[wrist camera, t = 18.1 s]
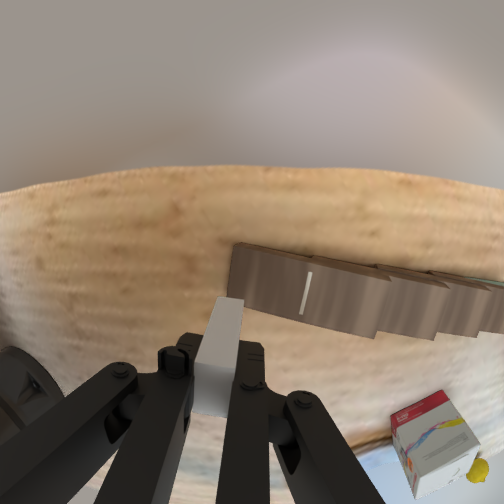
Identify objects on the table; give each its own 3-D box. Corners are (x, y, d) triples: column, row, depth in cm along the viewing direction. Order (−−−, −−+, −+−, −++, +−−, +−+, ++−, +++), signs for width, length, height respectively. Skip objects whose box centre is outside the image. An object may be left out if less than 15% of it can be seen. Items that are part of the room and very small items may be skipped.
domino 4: (420, 321, 25) (509, 335, 21) (434, 274, 24) (523, 293, 20) (416, 314, 27) (502, 328, 23) (429, 270, 26) (516, 289, 22)
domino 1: (225, 301, 25) (373, 339, 21) (233, 245, 24) (392, 282, 20) (233, 295, 27) (372, 329, 23) (241, 242, 25) (388, 276, 22)
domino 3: (364, 319, 25) (476, 338, 21) (378, 268, 24) (492, 292, 20) (364, 311, 27) (470, 330, 23) (376, 263, 26) (485, 286, 22)
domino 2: (299, 314, 25) (433, 340, 21) (310, 259, 24) (451, 289, 20) (302, 306, 27) (428, 332, 23) (313, 255, 26) (445, 283, 22)
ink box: (389, 414, 30) (419, 479, 18) (443, 387, 29) (483, 442, 18) (391, 446, 32) (415, 503, 20) (439, 422, 31) (470, 473, 19)
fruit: (477, 450, 34) (491, 472, 26) (482, 453, 35) (496, 474, 27) (457, 466, 35) (470, 489, 27) (464, 468, 36) (476, 490, 28)
